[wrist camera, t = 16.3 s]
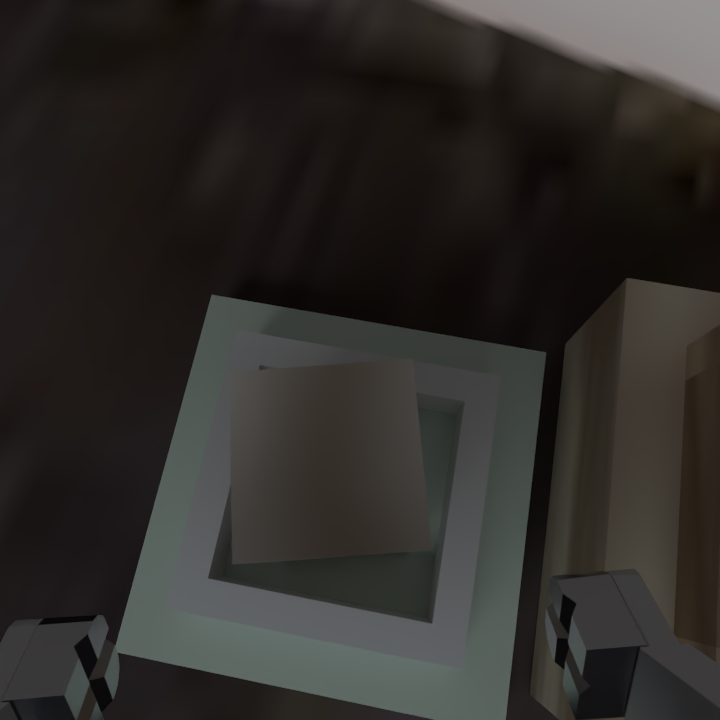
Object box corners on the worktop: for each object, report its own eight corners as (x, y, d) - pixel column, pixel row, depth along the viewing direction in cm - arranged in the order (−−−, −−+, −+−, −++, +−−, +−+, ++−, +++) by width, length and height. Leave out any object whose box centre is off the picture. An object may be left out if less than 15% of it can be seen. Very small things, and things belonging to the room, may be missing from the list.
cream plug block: (282, 560, 21) (232, 564, 13) (278, 436, 22) (229, 371, 14) (408, 551, 21) (431, 549, 13) (397, 427, 22) (412, 359, 14)
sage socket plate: (131, 645, 21) (86, 662, 18) (221, 309, 25) (197, 271, 21) (494, 721, 21) (518, 754, 17) (535, 364, 24) (562, 333, 21)
